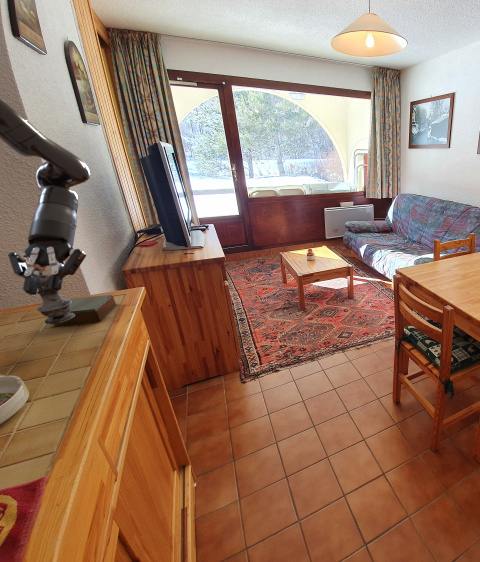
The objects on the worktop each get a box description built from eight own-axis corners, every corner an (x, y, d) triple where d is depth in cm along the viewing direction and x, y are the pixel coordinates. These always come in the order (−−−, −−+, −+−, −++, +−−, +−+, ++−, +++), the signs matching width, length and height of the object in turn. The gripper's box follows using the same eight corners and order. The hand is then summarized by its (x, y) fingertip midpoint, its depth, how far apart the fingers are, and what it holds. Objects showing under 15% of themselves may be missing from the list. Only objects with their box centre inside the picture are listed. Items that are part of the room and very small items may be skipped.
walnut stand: (54, 326, 81) (49, 314, 80) (75, 309, 90) (70, 298, 88) (100, 321, 84) (95, 309, 83) (116, 305, 93) (112, 293, 91)
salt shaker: (36, 322, 72) (13, 275, 67) (65, 311, 77) (45, 266, 72) (55, 326, 71) (33, 278, 66) (83, 314, 76) (64, 268, 71)
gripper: (3, 219, 70) (-15, 290, 64) (80, 216, 74) (69, 283, 68) (29, 236, 76) (15, 301, 70) (98, 233, 80) (90, 295, 74)
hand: (42, 292), depth 69 cm, fingers closed on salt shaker, 3 cm apart
